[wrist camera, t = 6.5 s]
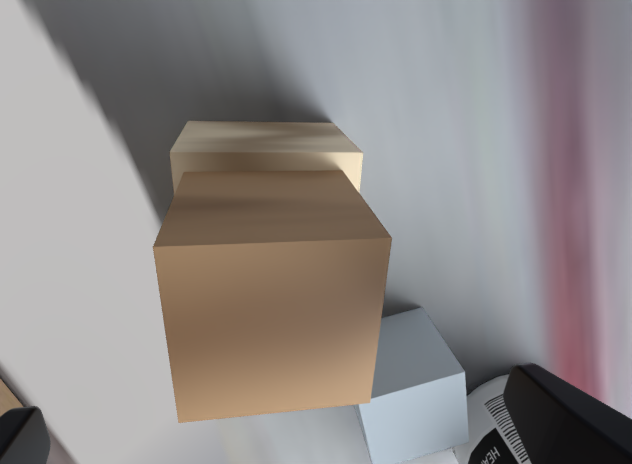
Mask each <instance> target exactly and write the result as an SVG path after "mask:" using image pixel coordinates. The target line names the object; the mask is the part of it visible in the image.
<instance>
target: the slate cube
mask: <svg viewBox="0 0 632 464" xmlns="http://www.w3.org/2000/svg"><path fill="white" fill-rule="evenodd" d="M354 407H355V410H356V413H357V416H358V420H359V423H360V426H361V429H362V433H363V436H364V439H365V443H366V446H367V449H368V452H369V456H370V459H371V462H372V464H398V463H401V462H405V461H408V460H411V459H415V458H418V457H421V456H425V455H428V454H431V453H435V452H438V451H441V450H445V449H448V448H451V447H455V446H458V445H461V444H465V443H468V442H469V433H468V415H467V397H466V379H465V371H464V369H463V368H462V366H461V365H460V363H459V362H458V360H457V359H456V357H455V356H454V354H453V353H452V351H451V350H450V348H449V347H448V345H447V344H446V342H445V341H444V339H443V338H442V336H441V335H440V333H439V331H438V330H437V328H436V327H435V325H434V324H433V322H432V321H431V319H430V318H429V316H428V315H427V313H426V312H425V310H424V309H423V307H420V308H417V309H413V310H410V311H406V312H402V313H399V314H395V315H392V316H388V317H384V318H381V324H380V332H379V339H378V347H377V355H376V362H375V370H374V377H373V385H372V393H371V400H370V403H365V404H356V405H354Z"/></svg>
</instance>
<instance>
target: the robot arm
mask: <svg viewBox="0 0 632 464" xmlns="http://www.w3.org/2000/svg"><path fill="white" fill-rule="evenodd" d="M503 400H504V404H505V407H506V409H507V411H508V413H509V416H510V418H511V420H512V422H513V425H514V427H515V429H516V431H517V433H518V436H519V438H520V440H521V442H522V444H523V447H524V449H525V451H526V453H527V456H528V458H529V460H530V462H531V464H632V419H630V418H629V417H627V416H625V415H623V414H622V413H620V412H618V411H616V410H615V409H613V408H611V407H609V406H608V405H606V404H604V403H602V402H601V401H599V400H597V399H596V398H594V397H592V396H590V395H589V394H587V393H585V392H583V391H582V390H580V389H578V388H576V387H575V386H573V385H571V384H569V383H568V382H566V381H564V380H562V379H561V378H559V377H557V376H555V375H554V374H552V373H550V372H549V371H547V370H545V369H543V368H542V367H540V366H538V365H536V364H533V363H524V364H516V365H514V366H513V367H512V368H511V370H510V373H509V376H508V379H507V382H506V385H505V388H504V392H503ZM49 451H50V436H49V433H48V430H47V427H46V424H45V421H44V418H43V414H42V412H41V410H40V409H39V408H38V407H36V406H30V407H18V408H12V409H10V410H8V411H7V412H5V413H4V414H3V415H1V416H0V464H46V462H47V459H48V455H49Z"/></svg>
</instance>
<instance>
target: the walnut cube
mask: <svg viewBox="0 0 632 464" xmlns="http://www.w3.org/2000/svg"><path fill="white" fill-rule="evenodd" d="M391 241H392V237H391V236H390V235H389V233H388V232H387V231H386V229H385V228H384V227H383V225H382V224H381V222H380V221H379V220H378V218H377V217H376V216H375V214H374V213H373V211H372V210H371V209H370V207H369V206H368V205H367V203H366V202H365V200H364V199H363V198H362V196H361V195H360V194H359V192H358V191H357V189H356V188H355V187H354V185H353V184H352V183H351V181H350V180H349V179H348V177H347V176H346V174H345V173H344V172H343V170H322V171H219V172H184V173H183V175H182V177H181V180H180V182H179V185H178V187H177V190H176V192H175V194H174V197H173V199H172V202H171V204H170V207H169V209H168V212H167V214H166V216H165V219H164V221H163V224H162V226H161V229H160V231H159V234H158V236H157V238H156V241H155V243H154V246H153V251H154V257H155V264H156V271H157V277H158V285H159V291H160V298H161V305H162V312H163V319H164V326H165V333H166V340H167V346H168V353H169V360H170V367H171V374H172V381H173V388H174V394H175V401H176V408H177V415H178V422H179V423H182V422H192V421H202V420H211V419H221V418H231V417H240V416H250V415H260V414H269V413H279V412H288V411H298V410H308V409H317V408H327V407H337V406H346V405H356V404H365V403H370V400H371V393H372V385H373V377H374V370H375V362H376V355H377V347H378V339H379V332H380V324H381V317H382V309H383V302H384V294H385V286H386V279H387V271H388V264H389V256H390V249H391Z"/></svg>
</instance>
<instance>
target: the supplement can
mask: <svg viewBox="0 0 632 464" xmlns="http://www.w3.org/2000/svg"><path fill="white" fill-rule="evenodd" d="M508 376H509V374H508V375H504V376H499V377H496V378H494V379H492V380H490V381H488V382H486V383H484V384H482V385H480V386H479V387H477V388H476V389H475V390H474V391H472V392H471V393H470V394H469V395H468V396H466V397H467V415H468V433H469V442H468V443H465V444H461V445H458V446H455V447H451V449H452V451H453V453H454V455H455V456H456V458H457V460H458V462H459V464H531V462H530V460H529V458H528V456H527V453H526V451H525V449H524V447H523V444H522V442H521V440H520V438H519V436H518V433H517V431H516V429H515V427H514V425H513V422H512V420H511V418H510V416H509V413H508V411H507V409H506V407H505V404H504V400H503V392H504V388H505V385H506V382H507V379H508Z"/></svg>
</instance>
